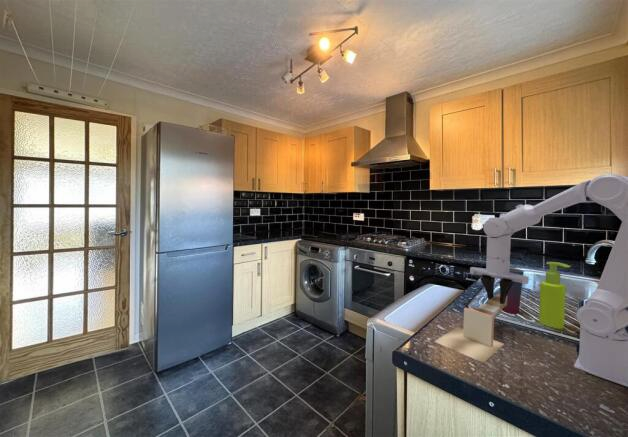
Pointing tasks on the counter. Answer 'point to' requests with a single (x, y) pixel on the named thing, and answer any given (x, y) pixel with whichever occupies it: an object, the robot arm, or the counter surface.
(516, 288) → the cup
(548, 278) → the soap dispenser
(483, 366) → the counter surface
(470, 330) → the tile
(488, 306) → the turner
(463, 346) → the cork mat
